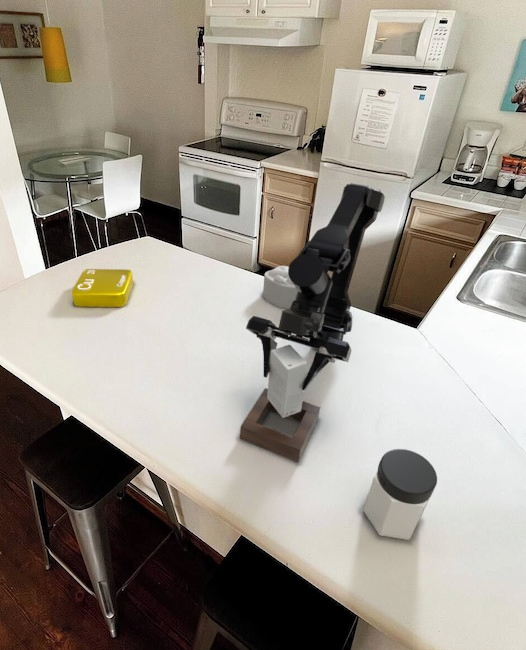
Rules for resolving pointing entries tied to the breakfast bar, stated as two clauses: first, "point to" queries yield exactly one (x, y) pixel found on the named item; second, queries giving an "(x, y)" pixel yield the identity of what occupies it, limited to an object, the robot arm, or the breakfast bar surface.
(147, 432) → the breakfast bar surface
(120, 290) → the element tile
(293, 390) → the cosmetic box
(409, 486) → the jar
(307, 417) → the frame
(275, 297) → the lumpy-topped squat cylinder
